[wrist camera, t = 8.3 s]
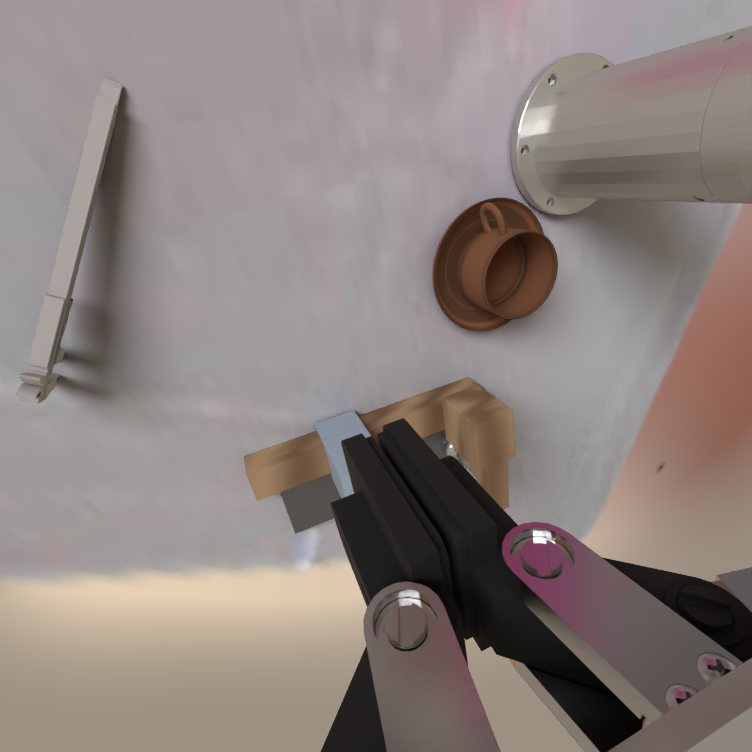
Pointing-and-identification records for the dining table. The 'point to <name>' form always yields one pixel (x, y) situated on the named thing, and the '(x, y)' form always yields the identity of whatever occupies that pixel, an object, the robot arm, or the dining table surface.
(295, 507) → the bolt plate
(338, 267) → the dining table surface
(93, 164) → the caliper
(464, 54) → the dining table surface
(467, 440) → the beam
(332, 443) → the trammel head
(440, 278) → the cup and saucer
